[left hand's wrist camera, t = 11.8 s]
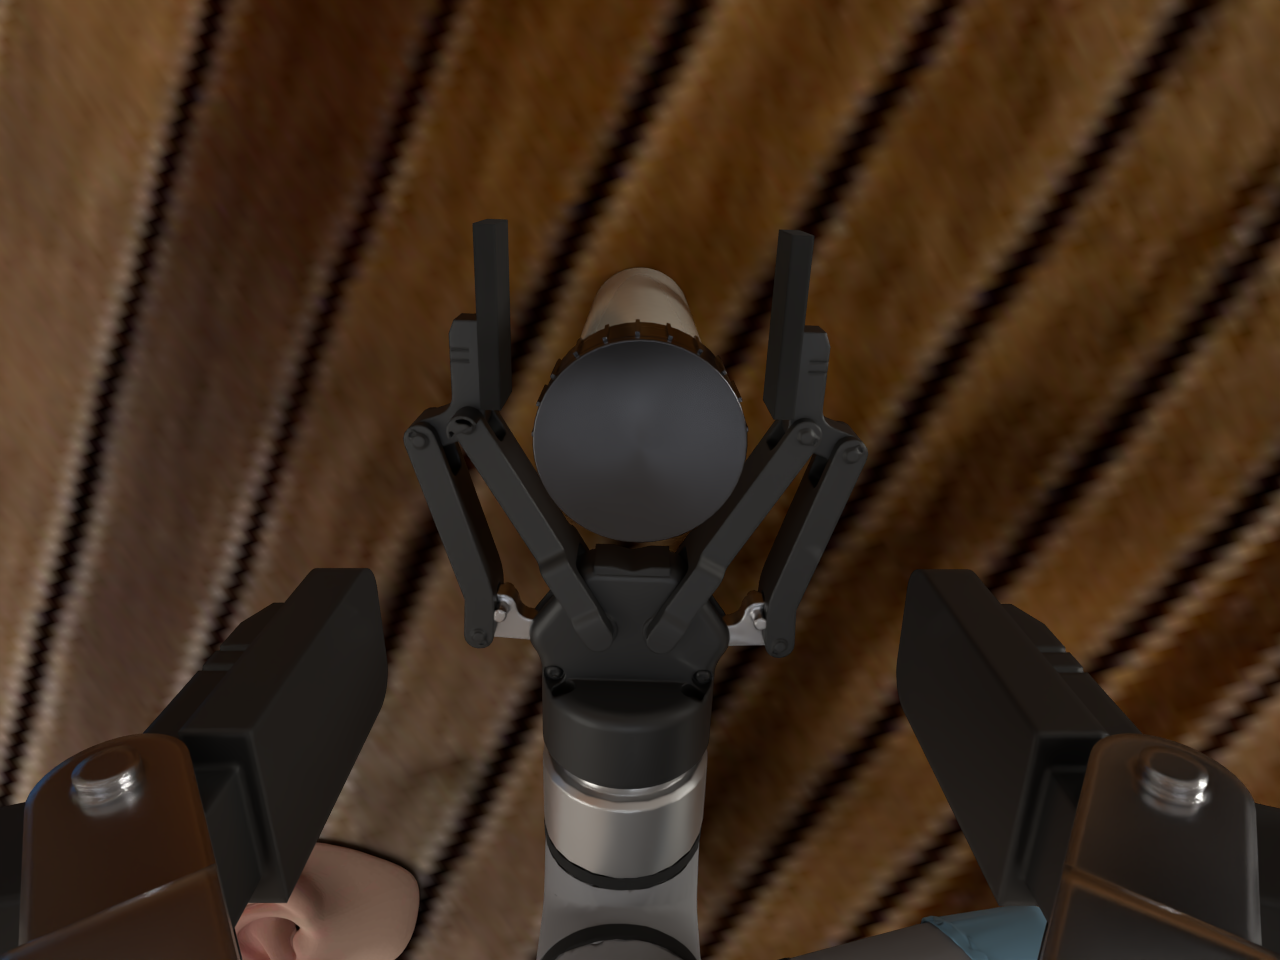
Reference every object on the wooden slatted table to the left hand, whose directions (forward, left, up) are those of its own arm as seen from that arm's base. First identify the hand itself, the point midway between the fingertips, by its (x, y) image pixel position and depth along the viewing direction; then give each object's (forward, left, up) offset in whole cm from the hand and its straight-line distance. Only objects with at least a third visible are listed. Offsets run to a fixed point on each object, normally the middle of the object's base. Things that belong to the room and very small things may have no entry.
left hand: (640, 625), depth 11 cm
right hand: (+2, -4, -19) cm, 20 cm away
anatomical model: (-3, +41, -26) cm, 48 cm away
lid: (0, 0, -8) cm, 8 cm away
